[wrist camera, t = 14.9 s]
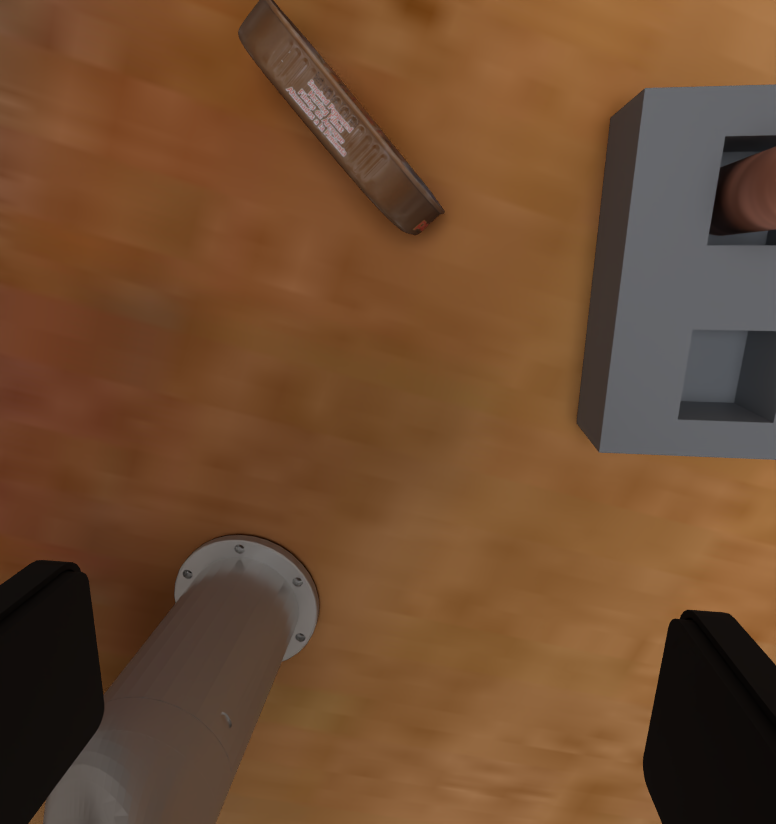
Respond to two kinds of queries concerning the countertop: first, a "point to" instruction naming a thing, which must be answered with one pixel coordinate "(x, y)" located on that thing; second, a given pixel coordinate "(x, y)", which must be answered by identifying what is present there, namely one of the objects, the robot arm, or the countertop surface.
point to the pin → (746, 196)
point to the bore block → (681, 284)
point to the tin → (337, 118)
